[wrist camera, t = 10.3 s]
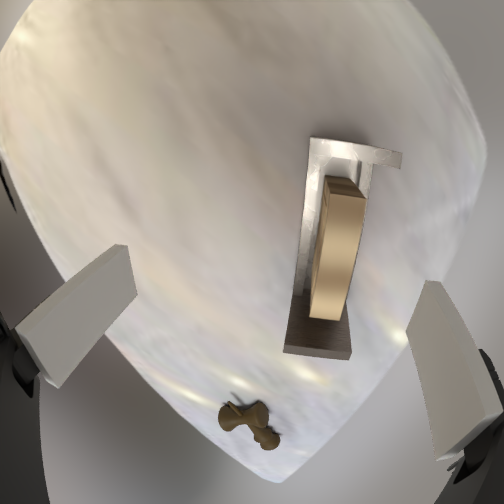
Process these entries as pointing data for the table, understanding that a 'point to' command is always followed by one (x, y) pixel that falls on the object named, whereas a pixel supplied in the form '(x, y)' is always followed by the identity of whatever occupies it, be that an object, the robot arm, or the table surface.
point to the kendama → (250, 423)
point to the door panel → (335, 246)
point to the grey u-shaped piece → (319, 164)
